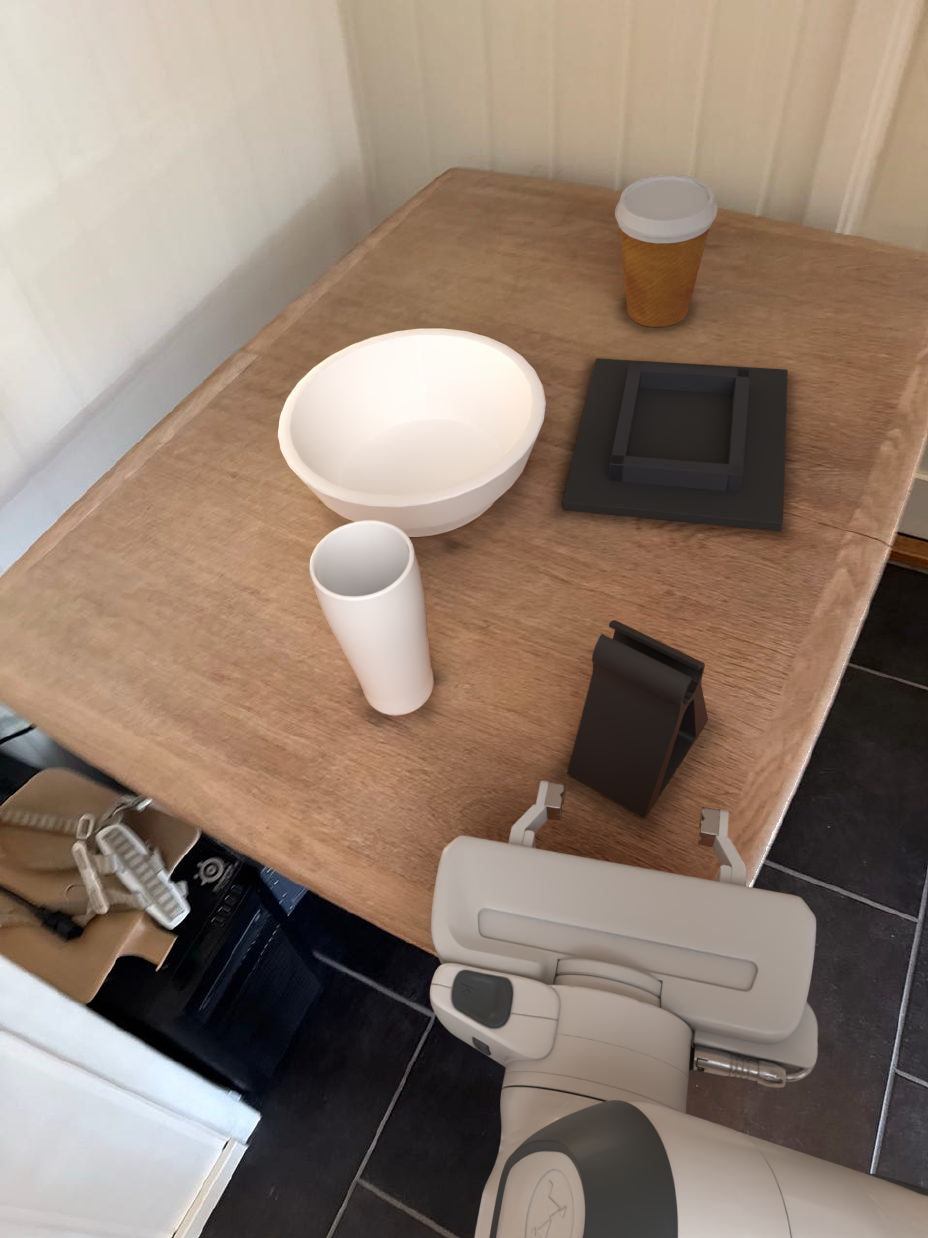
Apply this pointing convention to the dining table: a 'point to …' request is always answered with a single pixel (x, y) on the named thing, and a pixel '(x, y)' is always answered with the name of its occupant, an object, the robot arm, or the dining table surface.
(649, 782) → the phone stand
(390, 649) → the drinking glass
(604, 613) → the dining table surface
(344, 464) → the bowl
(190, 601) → the dining table surface
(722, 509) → the dock pad
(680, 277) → the disposable coffee cup
